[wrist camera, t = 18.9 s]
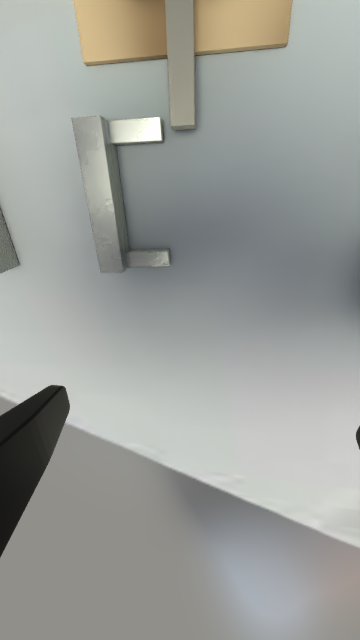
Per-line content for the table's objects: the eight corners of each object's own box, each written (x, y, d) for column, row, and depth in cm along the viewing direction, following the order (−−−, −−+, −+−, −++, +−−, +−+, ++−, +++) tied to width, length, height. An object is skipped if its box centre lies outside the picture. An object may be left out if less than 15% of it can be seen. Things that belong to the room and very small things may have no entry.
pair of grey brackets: (162, 120, 14) (155, 111, 13) (170, 262, 18) (166, 271, 16) (-90, 137, 16) (-126, 132, 14) (-34, 265, 20) (-57, 273, 18)
